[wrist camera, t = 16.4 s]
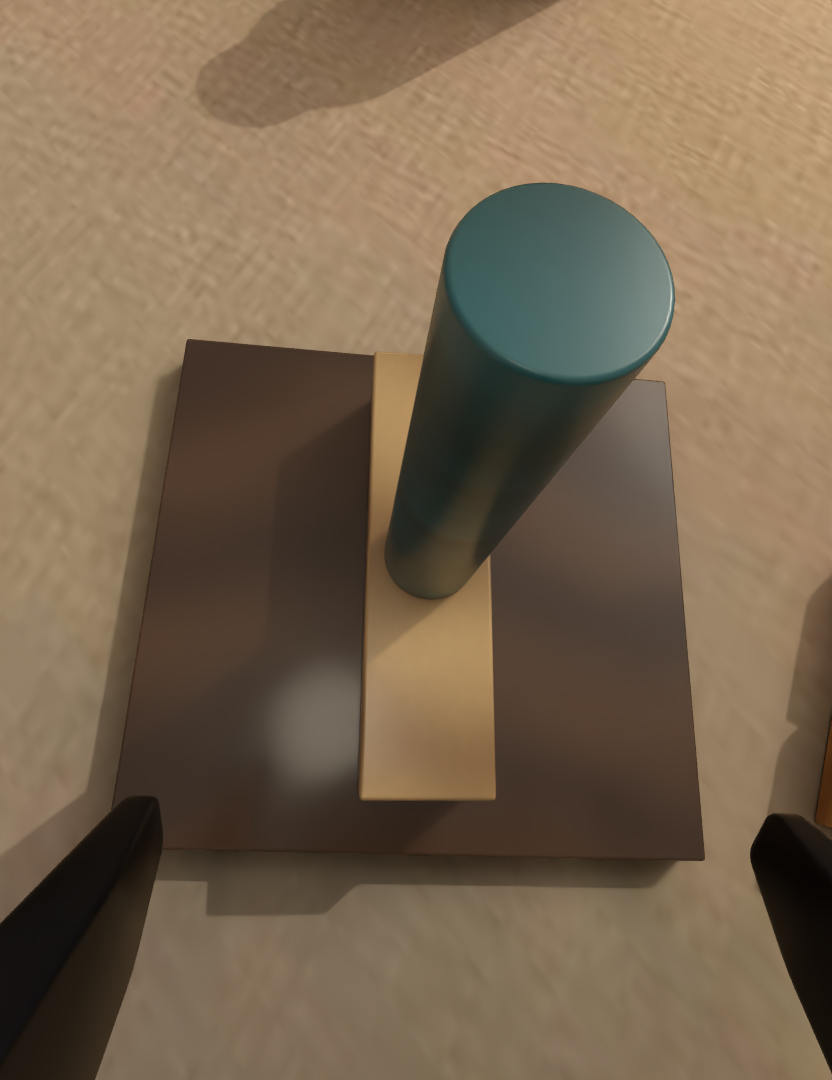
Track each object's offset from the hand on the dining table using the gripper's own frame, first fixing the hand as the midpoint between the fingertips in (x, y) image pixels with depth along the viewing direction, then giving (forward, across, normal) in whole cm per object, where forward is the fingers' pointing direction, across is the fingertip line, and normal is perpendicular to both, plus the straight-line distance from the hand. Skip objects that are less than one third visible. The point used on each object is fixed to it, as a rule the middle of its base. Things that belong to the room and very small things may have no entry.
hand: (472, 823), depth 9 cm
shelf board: (+10, 0, +2) cm, 10 cm away
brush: (+9, 0, +1) cm, 9 cm away
